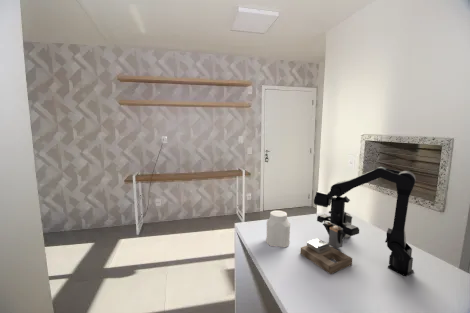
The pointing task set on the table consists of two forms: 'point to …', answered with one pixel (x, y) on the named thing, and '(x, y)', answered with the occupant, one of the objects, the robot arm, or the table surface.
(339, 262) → the socket board
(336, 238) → the plug
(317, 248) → the panel
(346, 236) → the can
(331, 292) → the table surface
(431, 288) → the table surface
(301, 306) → the table surface
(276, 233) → the jar
